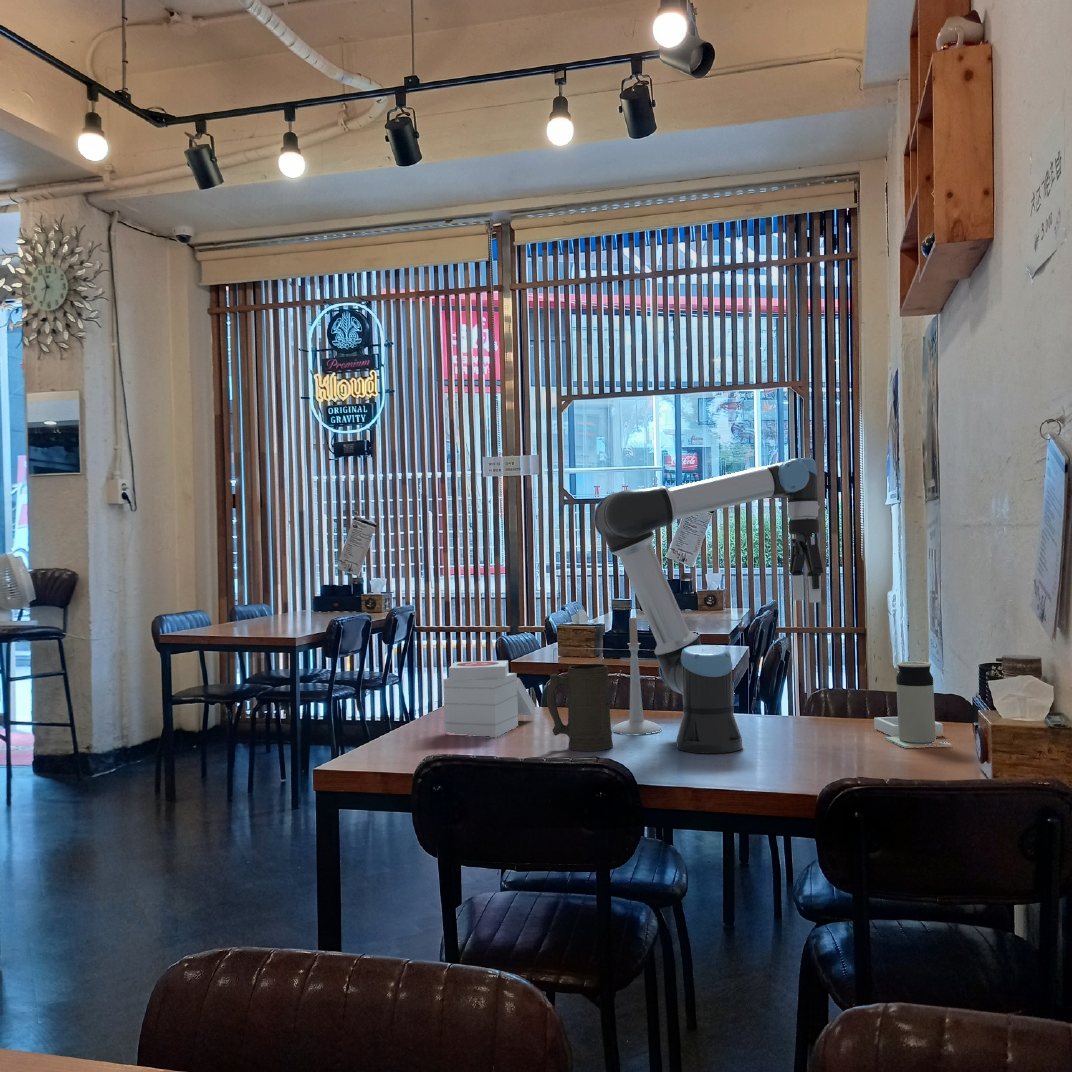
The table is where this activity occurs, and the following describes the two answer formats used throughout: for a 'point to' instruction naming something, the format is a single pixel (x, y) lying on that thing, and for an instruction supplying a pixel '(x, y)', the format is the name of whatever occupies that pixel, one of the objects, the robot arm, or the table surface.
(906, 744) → the mat
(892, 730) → the square grey tray
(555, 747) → the table surface
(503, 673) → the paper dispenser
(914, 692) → the travel mug
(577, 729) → the beer stein
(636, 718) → the candlestick
